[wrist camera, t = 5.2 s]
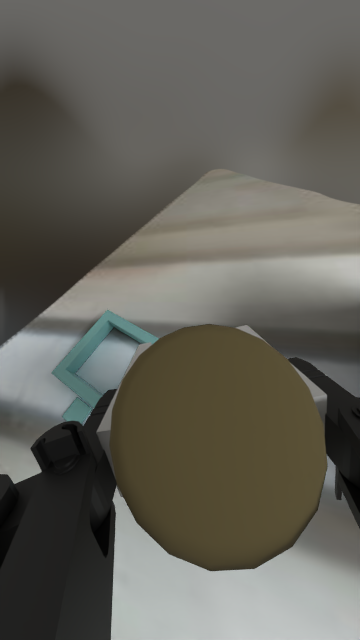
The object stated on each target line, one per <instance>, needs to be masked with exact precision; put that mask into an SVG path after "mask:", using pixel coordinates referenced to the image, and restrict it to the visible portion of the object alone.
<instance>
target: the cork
mask: <svg viewBox="0 0 360 640" xmlns="http://www.w3.org/2000/svg"><path fill="white" fill-rule="evenodd" d="M109 447H110V452H111V457H112V462H113V467H114V472H115V477H116V482H117V486H118V488H119V490H120V491H121V493H122V495H123V497H124V499H125V501H126V503H127V505H128V507H129V509H130V511H131V513H132V515H133V516H134V518H135V520H136V522H137V524H139V525H140V526H141V527H142V528H143V529H144V530H145V531H146V532H147V533H148V534H149V535H150V536H151V537H152V538H153V539H154V540H155V541H156V542H157V543H158V544H159V545H160V546H161V547H162V548H163V549H164V550H165V551H166V552H167V553H168V554H170V555H173V556H175V557H177V558H180V559H182V560H185V561H187V562H190V563H192V564H194V565H197V566H199V567H202V568H204V569H207V570H209V571H222V570H241V569H255V568H257V567H258V566H260V565H262V564H264V563H265V562H267V561H269V560H270V559H272V558H274V557H276V556H277V555H279V554H281V553H282V552H284V551H286V550H288V549H289V548H291V547H293V545H294V544H295V542H296V541H297V539H298V538H299V536H300V535H301V533H302V532H303V531H304V529H305V528H306V526H307V525H308V523H309V522H310V520H311V519H312V517H313V516H314V514H315V513H316V512H317V510H318V506H319V502H320V497H321V493H322V489H323V484H324V480H325V475H326V471H327V457H326V446H325V435H324V425H323V422H322V420H321V417H320V414H319V412H318V409H317V407H316V404H315V402H314V399H313V397H312V394H311V392H310V389H309V387H308V386H307V385H306V383H305V382H304V381H303V379H302V378H301V377H300V375H299V374H298V372H297V371H296V370H295V368H294V367H293V366H292V364H291V363H290V362H289V360H288V359H287V358H285V357H284V356H283V355H282V354H280V353H279V352H278V351H277V350H275V349H274V348H273V347H272V346H270V345H269V344H268V343H266V342H265V341H264V340H263V339H260V338H258V337H256V336H254V335H251V334H249V333H247V332H244V331H242V330H240V329H237V328H233V327H226V326H219V325H212V324H206V325H199V326H192V327H185V328H182V329H179V330H177V331H175V332H173V333H170V334H168V335H166V336H164V337H161V338H159V339H158V340H157V341H156V342H155V343H153V344H152V345H151V346H150V347H149V348H147V349H146V350H145V351H144V352H143V353H141V354H140V355H139V356H138V358H137V359H136V361H135V362H134V364H133V365H132V367H131V368H130V369H129V371H128V372H127V374H126V375H125V377H124V378H123V380H122V383H121V385H120V388H119V391H118V394H117V397H116V400H115V403H114V406H113V408H112V416H111V430H110V443H109Z"/></svg>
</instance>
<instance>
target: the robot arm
mask: <svg viewBox="0 0 360 640" xmlns="http://www.w3.org/2000/svg"><path fill="white" fill-rule="evenodd" d="M235 328H237V329H240V330H242V331H244V332H247V333H249V334H251V335H254V336H256V337H258V338H260V339H263V338H261V337H260V336H259V335H258V334H257V333H256V332H255V331H253V330H252V329H251V328H250V327H249V326H248V325H244V326H239V327H235ZM263 340H264V339H263ZM264 341H265V340H264ZM265 342H266V341H265ZM266 343H267V342H266ZM151 345H152V344H151V342H150V343H144V344H139V346H138V348H137V350H136V352H135V354H134V356H133V358H132V360H131V362H130V364H129V366H128V368H127V370H126V372H125V375H126V374H127V372H128V371H129V369H130V368H131V367H132V365H133V364H134V362H135V361H136V359H137V358H138V356H139V355H140V354H141V353H143V352H144V351H145V350H146V349H147V348H149V347H150V346H151ZM270 346H271V345H270ZM288 360H289V362H290V363H291V364H292V366H293V367H294V368H295V370H296V371H297V372H298V374H299V375H300V377H301V378H302V379H303V381H304V382H305V383H306V385H307V386H308V387H309V389H310V392H311V394H312V397H313V399H314V402H315V404H316V407H317V409H318V412H319V414H320V417H321V420H322V422H323V425H324V435H325V446H326V454H327V455H328V456H329V458H330V459H331V460H332V461H333V463H334V464H335V465H336V476H335V494H336V498H337V500H341V495H342V492H343V494H344V496H345V498H346V500H347V502H348V505H349V507H350V509H351V511H352V513H353V515H354V518H355V520H356V522H357V524H358V526H359V528H360V398H358V397H354V396H353V395H352V394H350V393H349V392H348V391H346V390H345V389H344V388H342V387H341V386H340V385H338V384H337V383H336V382H334V381H333V380H332V379H330V378H329V377H328V376H325V374H324V373H322V372H321V371H320V370H317V368H316V367H314V366H313V365H311V364H310V363H309V362H307V361H304V360H302V359H299V358H297V357H296V358H290V359H288ZM125 375H124V377H125ZM124 377H123V378H124ZM122 380H123V379H122ZM121 383H122V381H121ZM121 383H120V385H121ZM120 385H119V387H118V389H114V390H108V391H107V392H106V393H105V394H104V395H103V396H102V397H101V398H100V399H99V400H98V402H97V404H96V406H95V409H93V411H92V412H91V414H90V416H89V418H88V419H87V421H86V423H85V424H84V426H82V424H81V423H80V422H79V421H68V422H63V423H61V424H59V425H57V426H54V427H53V428H51V429H50V430H48V431H47V432H45V433H44V434H43V435H42V436H41V437H40V438H38V439H37V440H36V442H35V443H34V444H33V446H32V447H31V448H30V449H31V451H32V452H33V454H34V456H35V458H36V460H37V462H38V464H39V466H40V468H41V470H42V472H41V473H39V474H37V475H35V476H32V477H30V478H28V479H25V480H23V481H21V482H19V483H16V484H14V483H13V482H12V480H11V478H10V477H9V476H8V475H6V474H0V640H111V617H112V592H113V567H114V542H115V517H116V512H115V506H114V503H113V501H112V500H113V496H114V492H115V489H116V485H117V482H116V477H115V472H114V467H113V462H112V457H111V452H110V447H109V443H110V430H111V416H112V408H113V406H114V403H115V400H116V397H117V394H118V391H119V388H120ZM117 488H118V486H117ZM118 490H119V488H118ZM119 493H120V496H121V497H123V495H122V493H121V491H120V490H119Z"/></svg>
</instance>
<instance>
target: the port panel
mask: <svg viewBox="0 0 360 640" xmlns="http://www.w3.org/2000/svg"><path fill="white" fill-rule="evenodd" d="M114 327H115V328H116V329H118V330H120V331H122V332H123V333H125V334H127V335H128V336H130V337H132V338H133V339H135V340H137V341H138V342H140V343H142V344H144V343H150V342H151V344H153V343H155V342H156V341H157V340H158V339H159V338H157V337H155V336H153V335H151V334H150V333H148V332H146V331H144V330H143V329H141V328H139V327H137V326H135V325H134V324H132V323H130V322H128V321H127V320H125V319H123V318H121V317H119V316H118V315H116V314H114V313H112V312H111V311H109V310H107V311H106V312H105V313H104V314H103V315H102V316H101V318H100V319H99V320H98V321H97V322H96V323H95V324H94V325H93V327H92V328H91V329H90V330H89V331H88V332H87V333H86V334H85V336H84V337H83V338H82V339H81V340H80V341H79V342H78V343H77V345H76V346H75V347H74V348H73V349H72V350H71V351H70V352H69V354H68V355H67V356H66V357H65V358H64V359H63V360H62V361H61V363H60V364H59V365H58V366H57V367H56V368H55V369H54V370H53V372H52V374H53V375H54V376H56V377H57V378H58V379H59V380H60V381H62V382H63V383H64V384H65V385H66V386H68V387H69V388H70V389H71V390H73V391H74V392H75V393H76V394H77V395H79V396H80V397H81V398H82V399H83V400H85V401H86V402H87V403H88V404H90V405H91V406H92V407H93V408H94V409H95V406H96V404H97V402H98V400H99V399H100V398H101V397H102V396H103V395H102V394H101V393H100V392H98V391H97V390H96V389H94V388H93V387H92V386H90V385H89V384H88V383H87V382H85V381H84V380H83V379H81V378H80V377H79V376H78V375H76V374H75V373H76V372H77V371H78V369H79V368H80V367H81V366H82V365H83V363H84V362H85V361H86V360H87V359H88V357H89V356H90V355H91V354H92V353H93V351H94V350H95V349H96V348H97V347H98V345H99V344H100V343H101V342H102V341H103V339H104V338H105V337H106V336H107V335H108V334H109V332H110V331H111V330H112V329H113V328H114ZM91 411H92V409H91V408H90V407H89V406H88V405H87V404H85V403H84V402H83V401H82V400H81V399H79V398H76V399H75V401H74V402H73V403H72V405H71V406H70V407H69V408H68V410H67V411H66V412H65V413H64V415H63V416H62V417H63V418H64V419H65V420H66V421H67V422H68V421H79V422H80V423H81V424H82V423H83V421H84V420H85V419H86V417H87V416H88V415H89V413H90V412H91Z"/></svg>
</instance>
